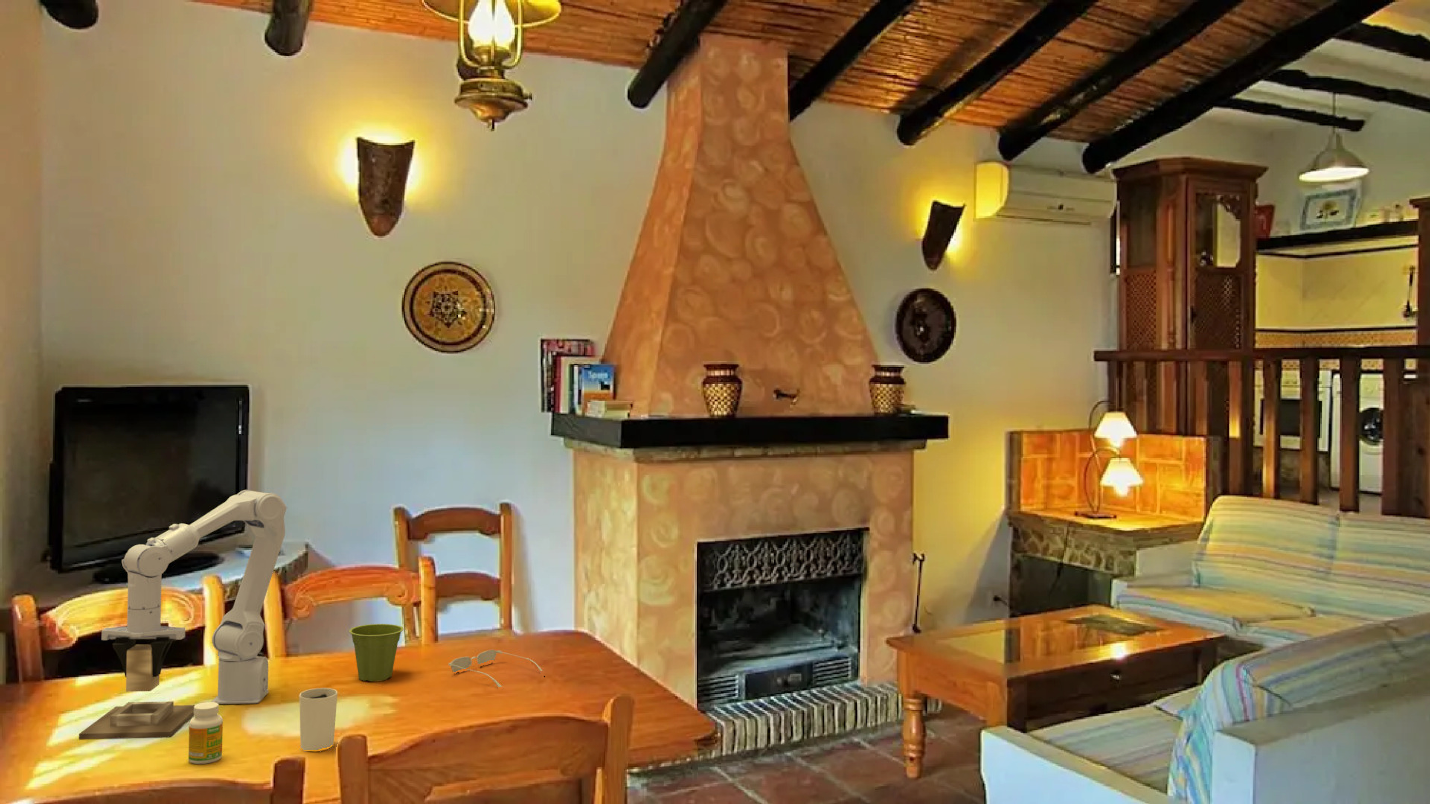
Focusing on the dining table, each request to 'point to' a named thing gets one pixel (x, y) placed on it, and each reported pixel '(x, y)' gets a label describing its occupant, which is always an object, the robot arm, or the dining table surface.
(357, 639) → the plant pot
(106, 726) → the square peg socket base
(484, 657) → the eyeglasses
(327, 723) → the beige cup
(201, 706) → the supplement bottle
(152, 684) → the birch peg
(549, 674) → the dining table surface
